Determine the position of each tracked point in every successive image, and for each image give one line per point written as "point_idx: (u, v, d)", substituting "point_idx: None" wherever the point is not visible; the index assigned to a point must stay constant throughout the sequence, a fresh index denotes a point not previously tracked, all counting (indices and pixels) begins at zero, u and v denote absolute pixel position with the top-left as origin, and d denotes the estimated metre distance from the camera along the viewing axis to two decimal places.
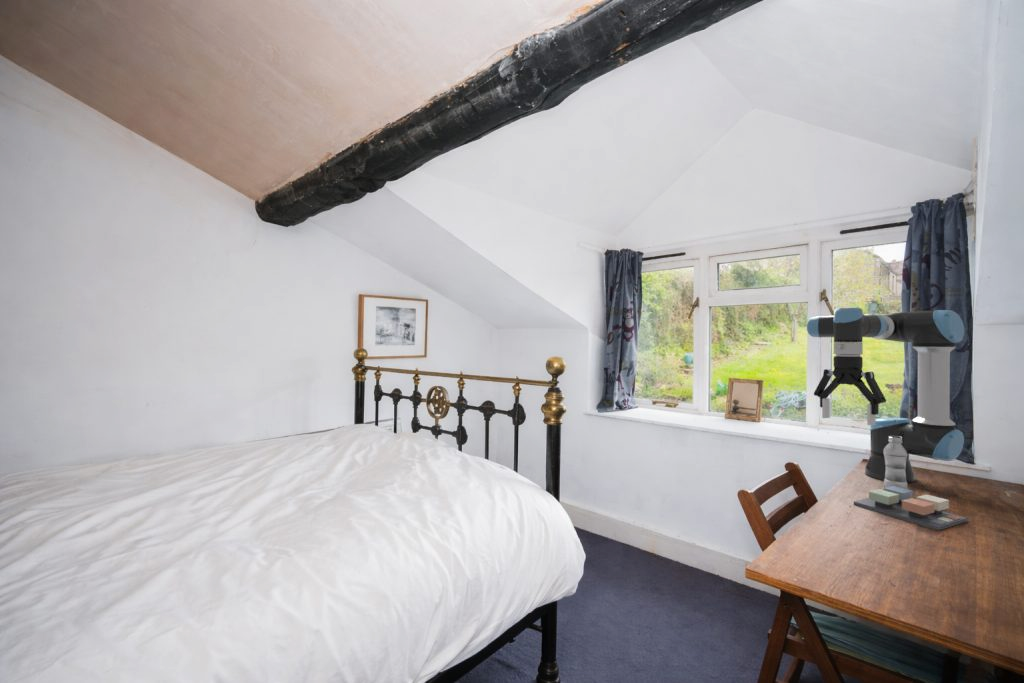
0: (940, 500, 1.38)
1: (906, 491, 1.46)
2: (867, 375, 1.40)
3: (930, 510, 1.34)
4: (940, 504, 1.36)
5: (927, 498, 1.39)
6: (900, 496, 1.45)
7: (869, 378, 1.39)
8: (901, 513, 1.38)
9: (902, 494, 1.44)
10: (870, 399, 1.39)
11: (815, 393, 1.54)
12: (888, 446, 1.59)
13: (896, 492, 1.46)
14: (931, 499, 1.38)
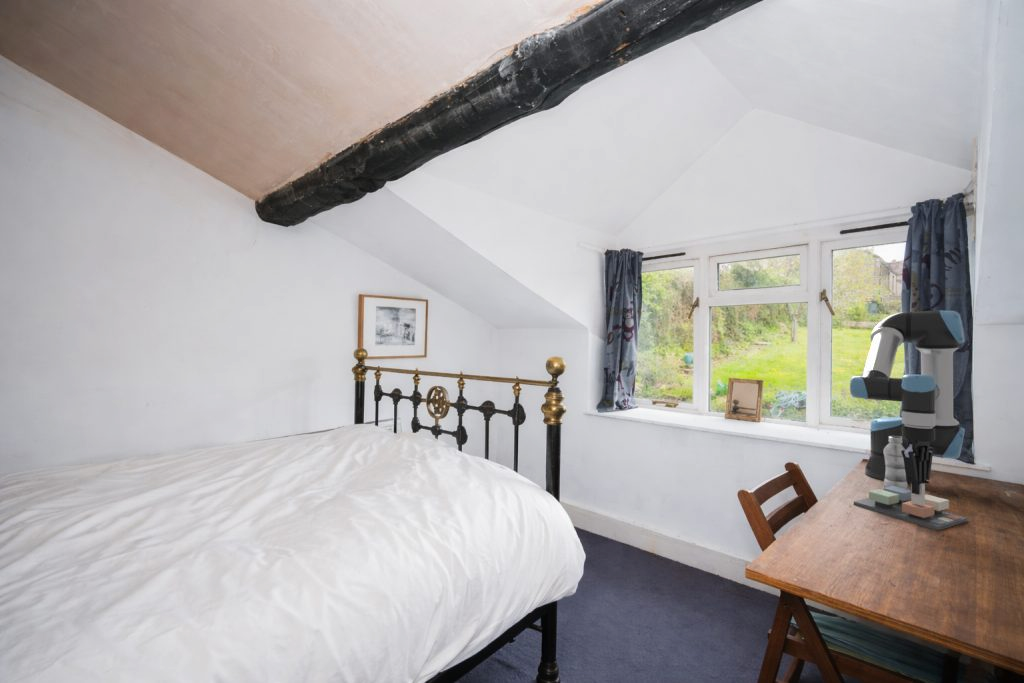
0: (940, 500, 1.38)
1: (906, 491, 1.46)
2: None
3: (930, 513, 1.34)
4: (940, 504, 1.36)
5: (927, 498, 1.39)
6: (900, 496, 1.45)
7: (903, 456, 1.35)
8: (901, 513, 1.38)
9: (902, 494, 1.44)
10: None
11: None
12: (888, 446, 1.59)
13: (896, 492, 1.46)
14: (931, 499, 1.38)
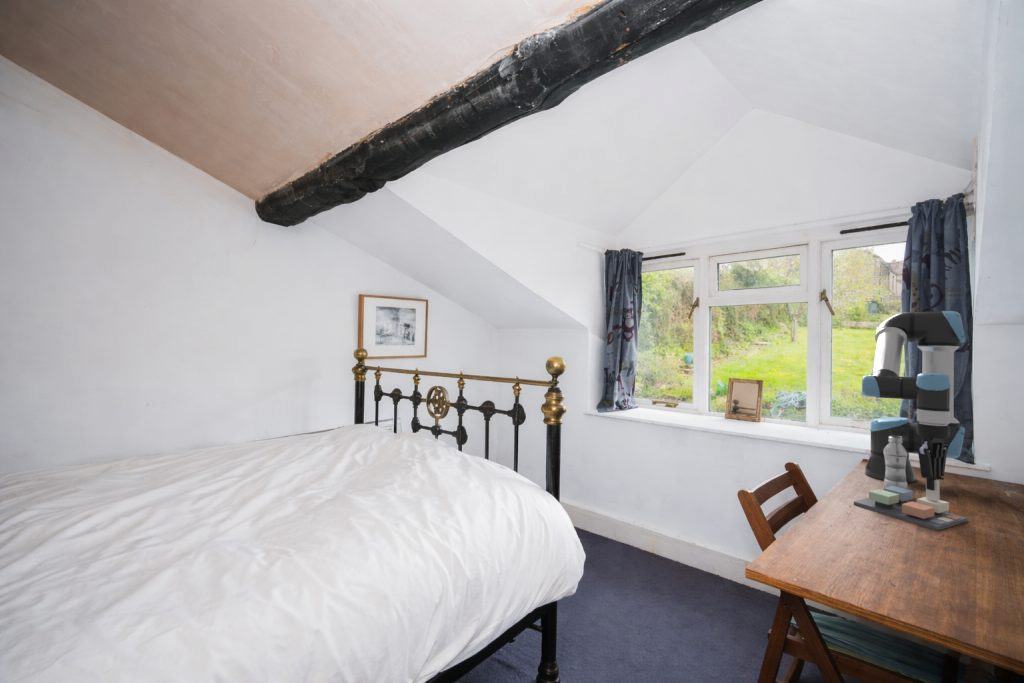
0: (940, 502, 1.38)
1: (906, 491, 1.46)
2: None
3: (930, 514, 1.34)
4: (940, 507, 1.36)
5: (927, 500, 1.39)
6: (900, 496, 1.45)
7: (918, 453, 1.38)
8: (901, 513, 1.38)
9: (902, 494, 1.44)
10: None
11: None
12: (888, 446, 1.59)
13: (896, 492, 1.46)
14: (931, 501, 1.38)
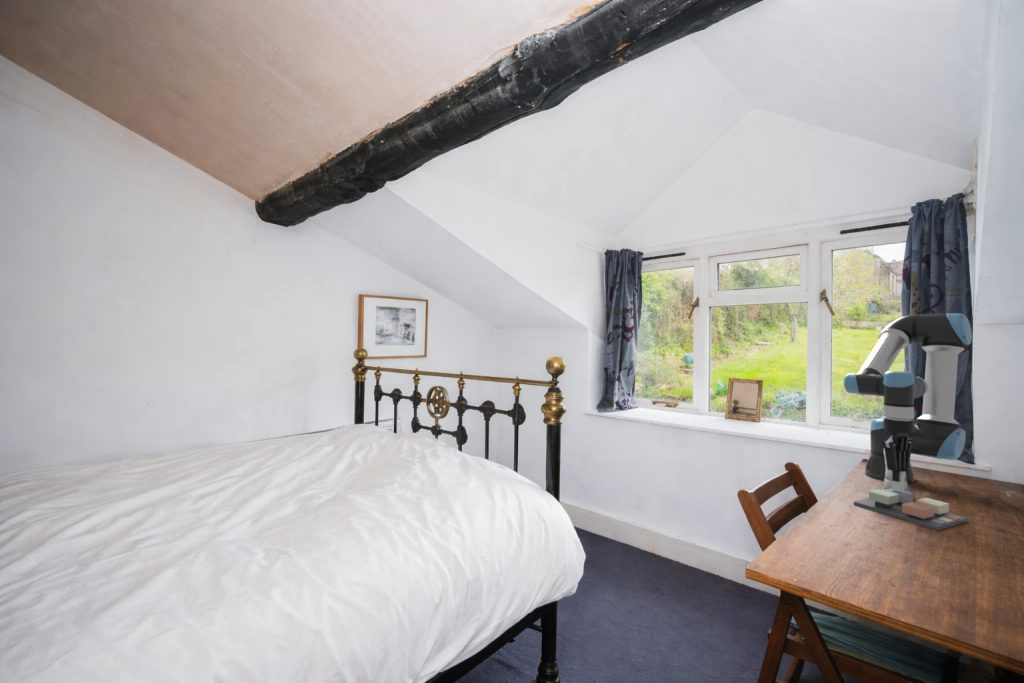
0: (940, 503, 1.38)
1: (906, 493, 1.46)
2: None
3: (930, 514, 1.34)
4: (940, 508, 1.36)
5: (927, 501, 1.39)
6: (900, 498, 1.45)
7: (884, 447, 1.46)
8: (901, 513, 1.38)
9: (902, 496, 1.44)
10: None
11: None
12: None
13: None
14: (931, 503, 1.38)
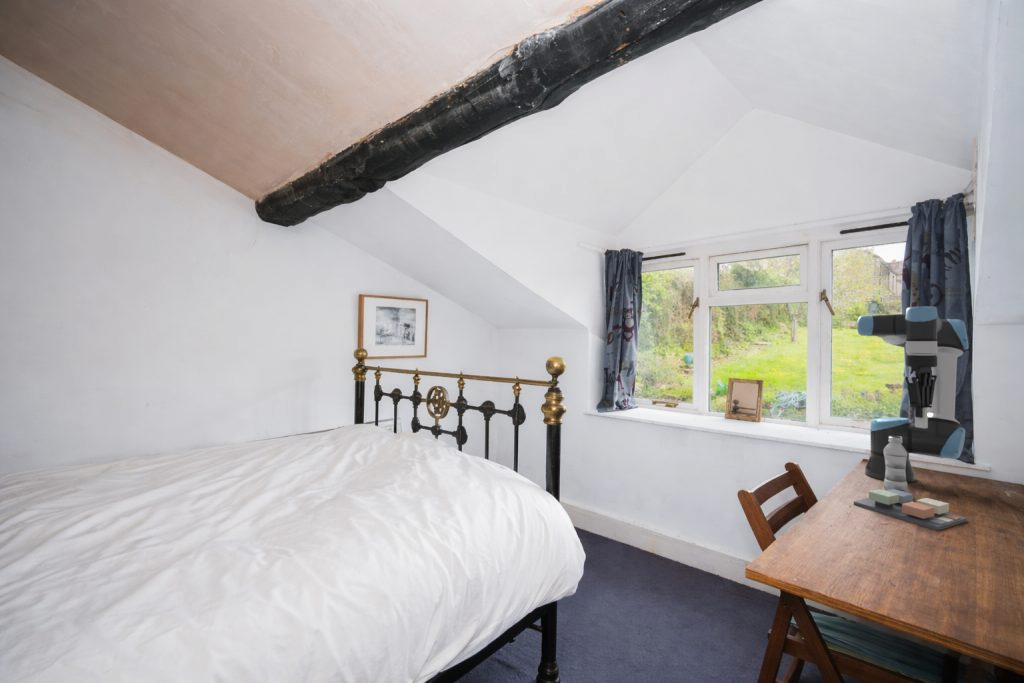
0: (940, 503, 1.38)
1: (906, 494, 1.46)
2: None
3: (930, 514, 1.34)
4: (940, 508, 1.36)
5: (927, 501, 1.39)
6: (900, 499, 1.45)
7: (907, 382, 1.45)
8: (901, 513, 1.38)
9: (902, 497, 1.44)
10: None
11: None
12: (888, 446, 1.59)
13: None
14: (931, 503, 1.38)
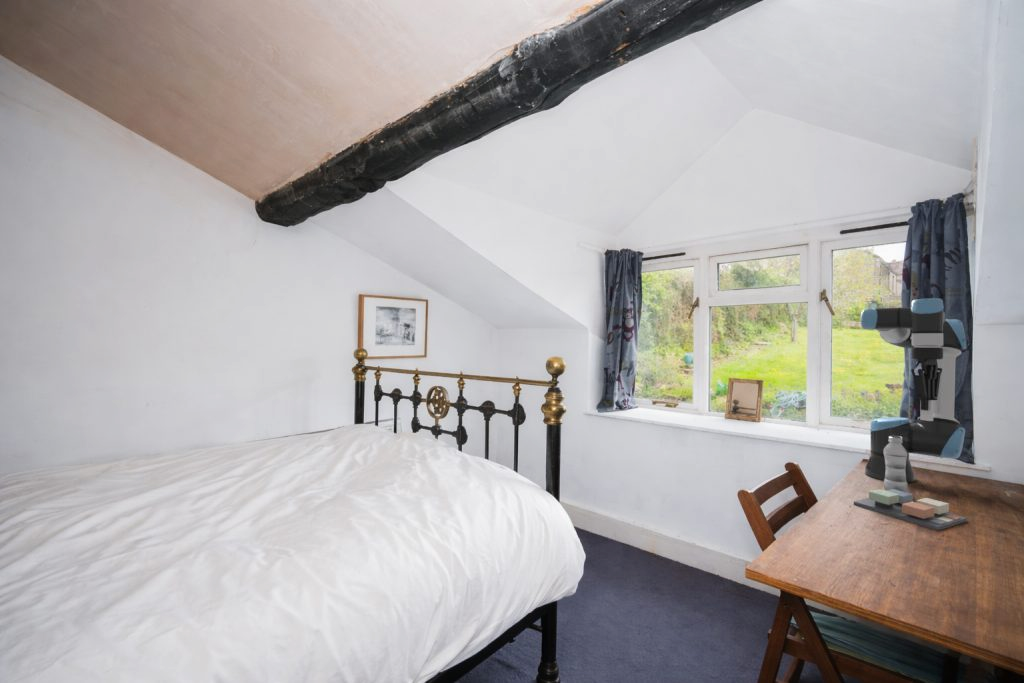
0: (940, 503, 1.38)
1: (906, 494, 1.46)
2: None
3: (930, 514, 1.34)
4: (940, 508, 1.36)
5: (927, 501, 1.39)
6: (900, 499, 1.45)
7: (913, 375, 1.44)
8: (901, 513, 1.38)
9: (902, 497, 1.44)
10: None
11: None
12: (888, 446, 1.59)
13: None
14: (931, 503, 1.38)
